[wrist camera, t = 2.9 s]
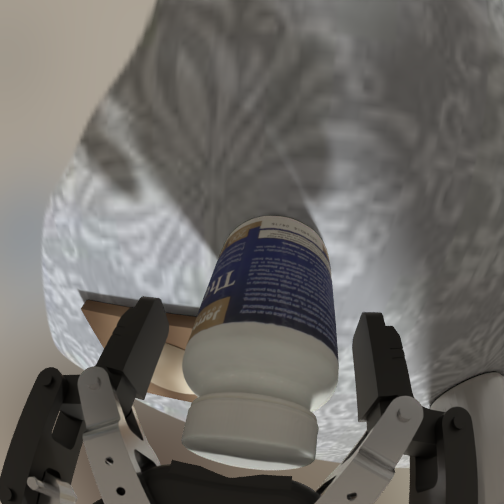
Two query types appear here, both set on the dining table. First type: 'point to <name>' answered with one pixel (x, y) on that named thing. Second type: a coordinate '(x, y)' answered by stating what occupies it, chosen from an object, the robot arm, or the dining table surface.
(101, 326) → the rest board
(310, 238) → the pill bottle
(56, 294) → the dining table surface
